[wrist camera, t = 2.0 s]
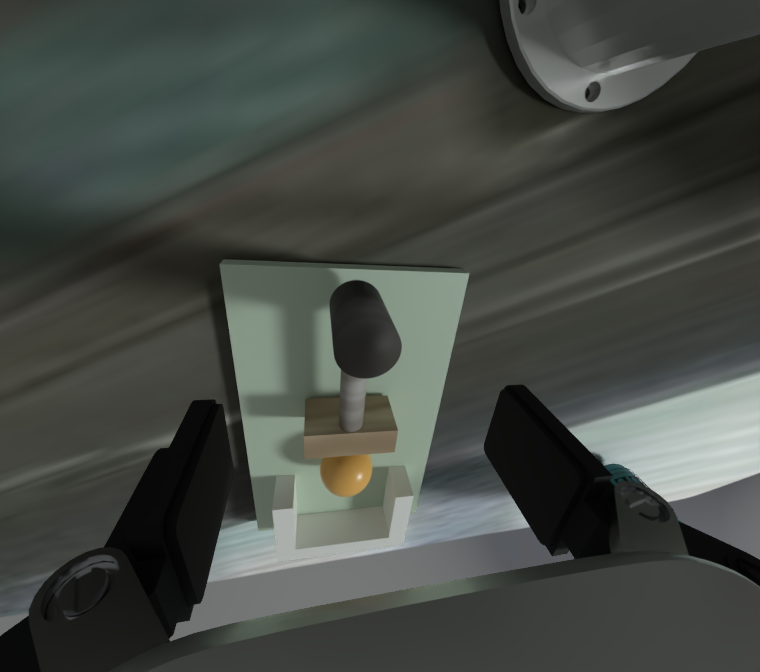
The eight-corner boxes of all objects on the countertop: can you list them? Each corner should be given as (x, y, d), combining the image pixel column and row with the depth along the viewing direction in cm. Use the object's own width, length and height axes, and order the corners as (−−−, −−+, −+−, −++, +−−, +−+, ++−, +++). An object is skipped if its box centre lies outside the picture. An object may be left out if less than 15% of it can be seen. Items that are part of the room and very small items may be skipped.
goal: (276, 476, 27) (272, 510, 24) (404, 465, 29) (413, 495, 26) (281, 527, 30) (277, 561, 27) (396, 514, 32) (403, 545, 29)
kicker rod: (302, 268, 19) (296, 319, 13) (403, 272, 20) (439, 320, 14) (305, 420, 24) (302, 503, 18) (385, 415, 25) (405, 492, 19)
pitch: (223, 259, 19) (219, 264, 18) (463, 268, 22) (469, 273, 21) (260, 520, 30) (258, 531, 30) (412, 504, 33) (415, 513, 33)
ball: (319, 431, 25) (320, 474, 22) (370, 428, 26) (378, 469, 22) (319, 466, 27) (319, 511, 24) (366, 462, 28) (374, 506, 24)
